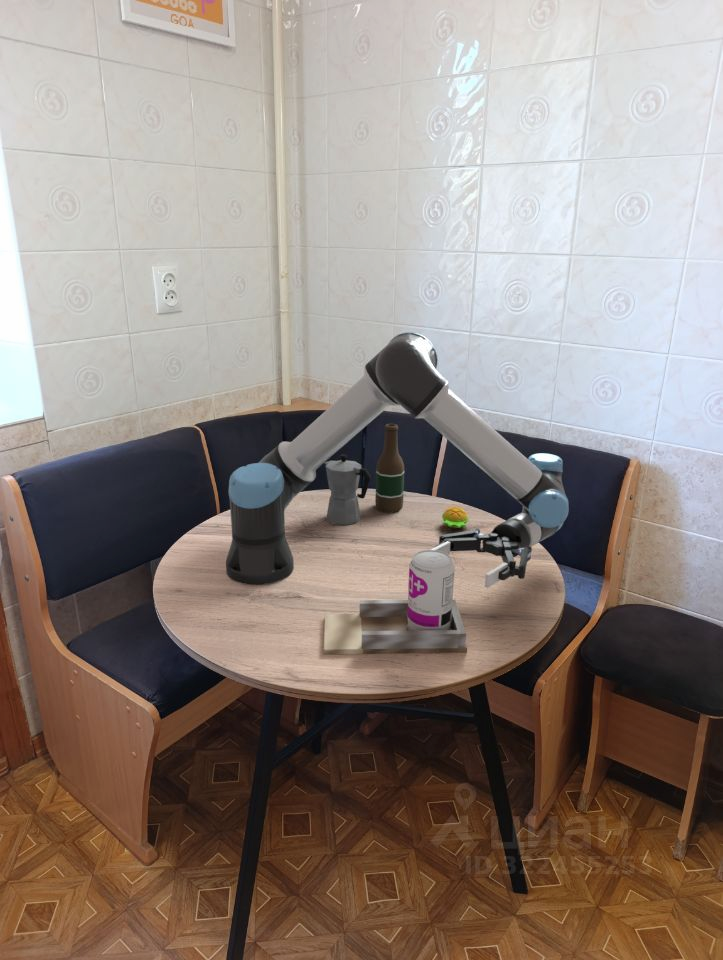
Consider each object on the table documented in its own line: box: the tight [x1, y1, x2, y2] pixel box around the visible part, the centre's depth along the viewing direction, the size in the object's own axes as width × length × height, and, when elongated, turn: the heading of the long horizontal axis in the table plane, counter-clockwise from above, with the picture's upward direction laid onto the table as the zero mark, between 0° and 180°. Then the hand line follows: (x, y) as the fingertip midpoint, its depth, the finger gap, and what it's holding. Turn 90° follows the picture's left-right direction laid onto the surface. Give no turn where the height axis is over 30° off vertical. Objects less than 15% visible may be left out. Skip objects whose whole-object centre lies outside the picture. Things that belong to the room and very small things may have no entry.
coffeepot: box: [323, 454, 372, 526], centre depth 174 cm, size 15×9×18 cm, turn 51°
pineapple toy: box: [441, 506, 469, 529], centre depth 171 cm, size 7×10×5 cm
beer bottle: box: [374, 423, 405, 514], centre depth 181 cm, size 8×8×24 cm
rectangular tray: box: [323, 599, 468, 655], centre depth 125 cm, size 26×12×4 cm, turn 92°
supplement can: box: [407, 549, 456, 631], centre depth 123 cm, size 8×8×15 cm
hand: (456, 569), depth 127 cm, fingers open, 13 cm apart
